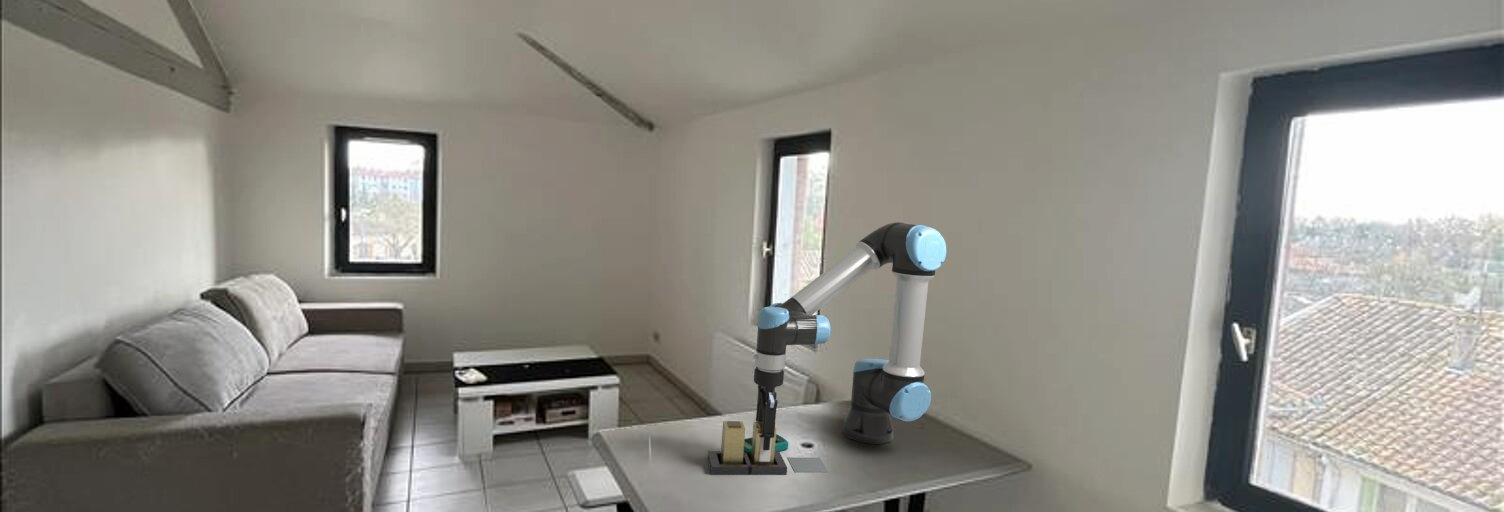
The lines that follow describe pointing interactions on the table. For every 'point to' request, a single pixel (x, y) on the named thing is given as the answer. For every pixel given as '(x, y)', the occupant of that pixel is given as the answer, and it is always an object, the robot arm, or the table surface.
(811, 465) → the mat
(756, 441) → the tan rectangular block
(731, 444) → the gold rectangular block
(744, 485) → the table surface
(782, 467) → the dark grey block holder
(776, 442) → the digital multimeter
